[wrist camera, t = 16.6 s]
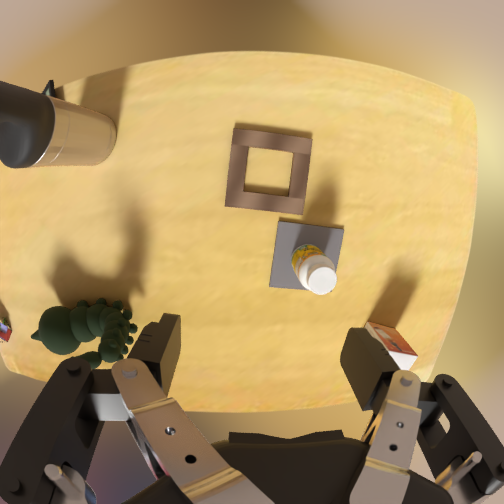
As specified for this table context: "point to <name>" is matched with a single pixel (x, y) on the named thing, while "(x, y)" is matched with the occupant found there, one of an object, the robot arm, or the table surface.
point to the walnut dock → (260, 200)
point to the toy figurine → (87, 330)
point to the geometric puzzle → (4, 331)
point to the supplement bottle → (314, 269)
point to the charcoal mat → (295, 237)
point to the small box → (393, 344)
